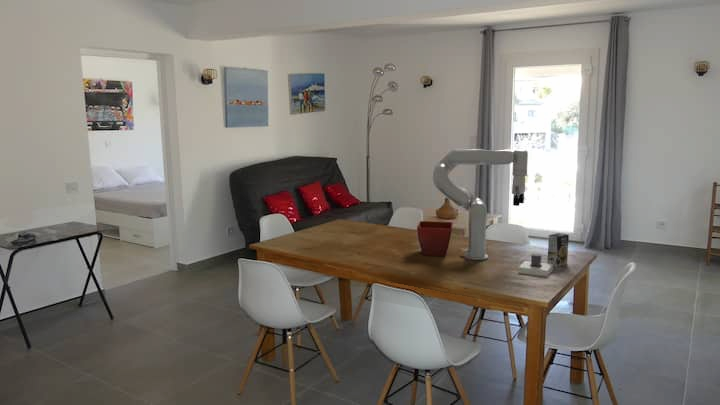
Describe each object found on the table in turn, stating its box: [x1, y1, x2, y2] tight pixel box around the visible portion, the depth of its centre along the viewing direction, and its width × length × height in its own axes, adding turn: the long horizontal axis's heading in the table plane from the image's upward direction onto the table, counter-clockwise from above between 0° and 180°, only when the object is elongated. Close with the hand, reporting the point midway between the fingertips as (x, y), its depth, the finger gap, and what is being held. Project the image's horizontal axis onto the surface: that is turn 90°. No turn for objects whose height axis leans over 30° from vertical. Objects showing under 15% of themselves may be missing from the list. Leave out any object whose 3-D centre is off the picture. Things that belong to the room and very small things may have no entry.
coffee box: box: [546, 232, 570, 268], centre depth 293 cm, size 9×6×16 cm
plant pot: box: [416, 220, 454, 257], centre depth 318 cm, size 19×19×17 cm
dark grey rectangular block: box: [530, 253, 542, 268], centre depth 280 cm, size 4×4×8 cm
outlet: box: [517, 260, 554, 277], centre depth 281 cm, size 14×14×3 cm
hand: (518, 204), depth 302 cm, fingers open, 9 cm apart
